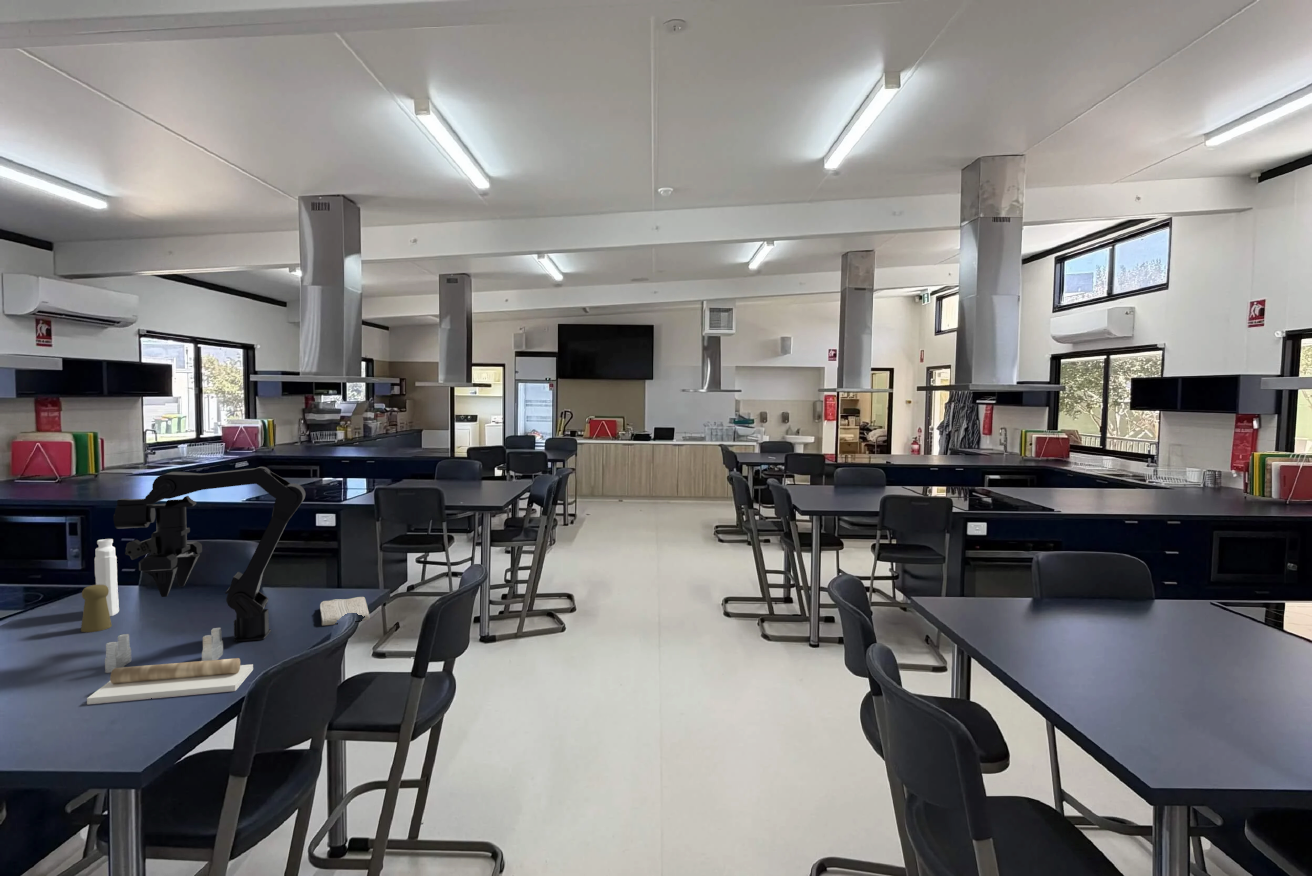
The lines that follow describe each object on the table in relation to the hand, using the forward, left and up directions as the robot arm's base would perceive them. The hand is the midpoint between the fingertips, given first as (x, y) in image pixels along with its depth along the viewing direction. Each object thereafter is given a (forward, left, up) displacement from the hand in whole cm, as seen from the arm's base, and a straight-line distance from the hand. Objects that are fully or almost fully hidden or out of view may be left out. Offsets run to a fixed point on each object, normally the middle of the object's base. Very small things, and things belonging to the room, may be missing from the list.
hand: (173, 591), depth 156 cm
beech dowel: (-10, +25, -10) cm, 29 cm away
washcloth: (-34, -16, -14) cm, 40 cm away
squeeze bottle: (+28, -32, -13) cm, 45 cm away
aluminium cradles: (-3, +12, -13) cm, 18 cm away
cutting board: (-10, +26, -13) cm, 31 cm away
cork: (+24, -18, -13) cm, 33 cm away
